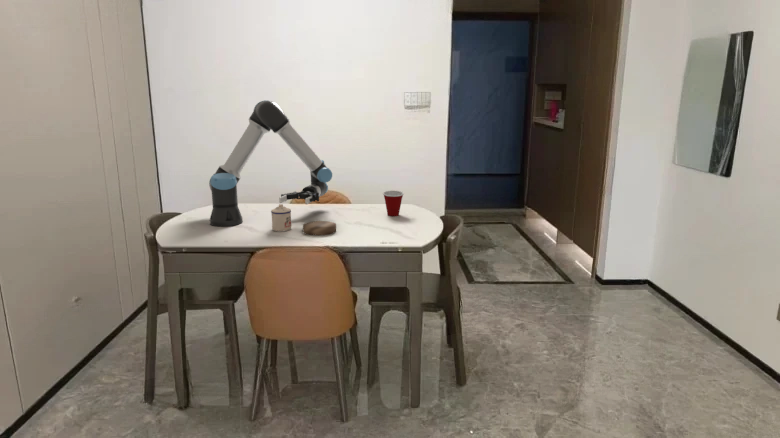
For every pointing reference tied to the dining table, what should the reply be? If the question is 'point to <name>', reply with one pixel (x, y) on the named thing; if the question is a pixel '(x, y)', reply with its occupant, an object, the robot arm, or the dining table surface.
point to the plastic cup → (393, 202)
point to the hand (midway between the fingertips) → (292, 201)
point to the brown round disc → (319, 228)
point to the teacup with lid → (281, 218)
